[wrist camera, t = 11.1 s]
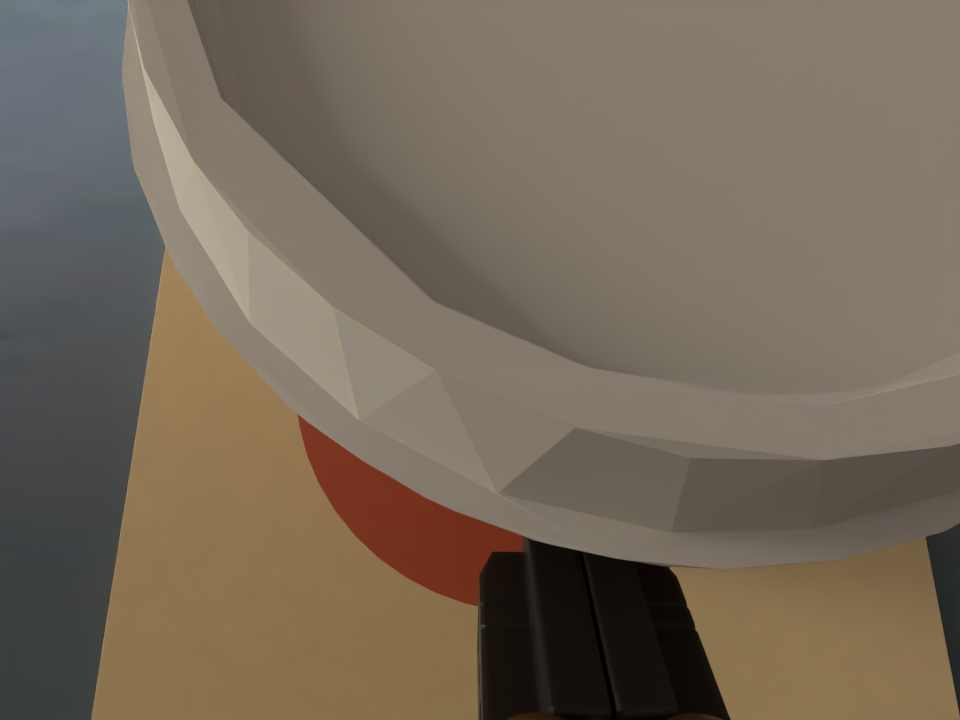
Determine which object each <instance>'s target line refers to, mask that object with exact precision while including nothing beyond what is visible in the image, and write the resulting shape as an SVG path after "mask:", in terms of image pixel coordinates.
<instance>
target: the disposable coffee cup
mask: <svg viewBox="0 0 960 720" xmlns="http://www.w3.org/2000/svg"><path fill="white" fill-rule="evenodd" d="M127 1H128V14H127V24H126V34H125V44H124V54H123V64H122V81H123V89H124V97H125V105H126V113H127V121H128V129H129V137H130V145H131V153H132V161H133V167H134V169H135V172H136V174H137V176H138V179H139V181H140V184H141V186H142V189H143V191H144V194H145V196H146V199H147V201H148V204H149V206H150V209H151V211H152V214H153V216H154V218H155V221H156V223H157V226H158V228H159V231H160V233H161V236H162V238H163V241H164V243H165V246H166V248H167V251H168V253H169V255H170V258H171V260H172V262H173V263H174V265H175V266H176V268H177V269H178V271H179V273H180V274H181V276H182V277H183V279H184V280H185V282H186V283H187V285H188V286H189V288H190V289H191V291H192V292H193V294H194V295H195V297H196V299H197V300H198V302H199V303H200V305H201V306H202V308H203V309H204V311H205V312H206V314H207V315H208V317H209V318H210V320H211V321H212V323H213V325H214V326H215V328H216V329H217V330H218V331H219V332H220V333H221V334H222V336H223V337H224V338H225V339H226V340H227V341H228V342H229V343H230V344H231V345H232V346H233V347H234V348H235V350H236V351H237V352H238V353H239V354H240V355H241V356H242V357H243V358H244V359H245V360H246V361H247V362H248V363H249V365H250V366H251V367H252V368H253V369H254V370H255V371H256V372H257V373H258V374H259V375H260V376H261V377H262V379H263V380H264V381H265V382H266V383H267V384H268V385H269V386H270V387H271V388H272V389H273V390H274V391H275V393H276V394H277V395H278V396H279V397H280V398H281V399H282V400H283V401H284V402H285V403H286V404H287V405H288V406H289V407H290V408H291V409H292V410H293V411H295V412H296V413H297V414H298V415H300V416H301V417H302V418H303V419H305V420H306V421H307V422H308V423H310V424H311V425H312V426H314V427H315V428H317V429H318V430H319V431H321V432H322V433H324V434H325V435H327V436H328V437H329V438H331V439H332V440H334V441H335V442H337V443H338V444H339V445H341V446H342V447H344V448H345V449H347V450H348V451H349V452H351V453H352V454H354V455H355V456H357V457H358V458H359V459H361V460H362V461H364V462H366V463H367V464H369V465H371V466H372V467H374V468H376V469H378V470H379V471H381V472H383V473H384V474H386V475H388V476H389V477H391V478H393V479H395V480H396V481H398V482H400V483H401V484H403V485H405V486H406V487H408V488H410V489H412V490H413V491H415V492H417V493H418V494H420V495H422V496H423V497H425V498H427V499H429V500H431V501H433V502H436V503H438V504H440V505H442V506H444V507H447V508H449V509H451V510H453V511H456V512H459V513H461V514H464V515H467V516H470V517H472V518H475V519H478V520H480V521H483V522H486V523H489V524H491V525H494V526H497V527H499V528H502V529H505V530H508V531H510V532H513V533H516V534H519V535H521V536H524V537H527V538H529V539H532V540H535V541H539V542H543V543H547V544H551V545H555V546H560V547H565V548H569V549H574V550H579V551H583V552H588V553H593V554H597V555H602V556H607V557H611V558H616V559H622V560H628V561H635V562H641V563H647V564H653V565H660V566H671V567H689V568H706V569H731V568H744V567H758V566H771V565H784V564H797V563H807V562H818V561H829V560H839V559H843V558H847V557H851V556H855V555H858V554H862V553H866V552H870V551H873V550H877V549H881V548H884V547H888V546H892V545H896V544H899V543H903V542H907V541H911V540H914V539H918V538H922V537H926V536H929V535H933V534H937V533H940V532H944V531H946V530H948V529H950V528H952V527H953V526H955V525H957V524H959V523H960V0H127Z"/></svg>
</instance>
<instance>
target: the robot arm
mask: <svg viewBox="0 0 960 720" xmlns="http://www.w3.org/2000/svg"><path fill="white" fill-rule="evenodd" d="M477 677H478V681H477V684H478V720H731V719H730V717H729V714H728V712H727V709H726V706H725V704H724V701H723V698H722V696H721V693H720V690H719V688H718V685H717V682H716V680H715V677H714V674H713V672H712V669H711V666H710V663H709V661H708V658H707V655H706V653H705V650H704V647H703V645H702V642H701V639H700V637H699V634H698V631H696V630H695V623H694V621H693V618H692V615H691V613H690V610H689V608H687V602H686V599H685V597H684V594H683V591H682V588H681V586H680V583H679V580H678V578H677V576H676V575H675V574H674V573H673V572H672V571H671V569H670V568H669V567H668V566H660V565H653V564H647V563H641V562H635V561H628V560H622V559H616V558H611V557H607V556H602V555H597V554H593V553H588V552H583V551H579V550H574V549H569V548H565V547H560V546H555V545H551V544H547V543H543V542H539V541H535V540H532V539H529V538H527V537H524V536H523V538H522V552H492V553H491V555H490V557H489V558H488V560H487V562H486V564H485V566H484V567H483V569H482V571H481V573H480V574H479V600H478V629H477Z"/></svg>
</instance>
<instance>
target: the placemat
mask: <svg viewBox="0 0 960 720" xmlns="http://www.w3.org/2000/svg"><path fill="white" fill-rule="evenodd" d="M522 538H523V536H521V535H519V534H516V533H513V532H510V531H508V530H505V529H502V528H499V527H497V526H494V525H491V524H489V523H486V522H483V521H480V520H478V519H475V518H472V517H470V516H467V515H464V514H461V513H459V512H456V511H453V510H451V509H449V508H447V507H444V506H442V505H440V504H438V503H436V502H433V501H431V500H429V499H427V498H425V497H423V496H422V495H420V494H418V493H417V492H415V491H413V490H412V489H410V488H408V487H406V486H405V485H403V484H401V483H400V482H398V481H396V480H395V479H393V478H391V477H389V476H388V475H386V474H384V473H383V472H381V471H379V470H378V469H376V468H374V467H372V466H371V465H369V464H367V463H366V462H364V461H362V460H361V459H359V458H358V457H357V456H355V455H354V454H352V453H351V452H349V451H348V450H347V449H345V448H344V447H342V446H341V445H339V444H338V443H337V442H335V441H334V440H332V439H331V438H329V437H328V436H327V435H325V434H324V433H322V432H321V431H319V430H318V429H317V428H315V427H314V426H312V425H311V424H310V423H308V422H307V421H306V420H305V419H303V418H302V417H301V416H300V415H298V414H297V413H296V412H295V411H293V410H292V409H291V408H290V407H289V406H288V405H287V404H286V403H285V402H284V401H283V400H282V399H281V398H280V397H279V396H278V395H277V394H276V393H275V391H274V390H273V389H272V388H271V387H270V386H269V385H268V384H267V383H266V382H265V381H264V380H263V379H262V377H261V376H260V375H259V374H258V373H257V372H256V371H255V370H254V369H253V368H252V367H251V366H250V365H249V363H248V362H247V361H246V360H245V359H244V358H243V357H242V356H241V355H240V354H239V353H238V352H237V351H236V350H235V348H234V347H233V346H232V345H231V344H230V343H229V342H228V341H227V340H226V339H225V338H224V337H223V336H222V334H221V333H220V332H219V331H218V330H217V329H216V328H215V326H214V325H213V323H212V321H211V320H210V318H209V317H208V315H207V314H206V312H205V311H204V309H203V308H202V306H201V305H200V303H199V302H198V300H197V299H196V297H195V295H194V294H193V292H192V291H191V289H190V288H189V286H188V285H187V283H186V282H185V280H184V279H183V277H182V276H181V274H180V273H179V271H178V269H177V268H176V266H175V265H174V263H173V262H172V260H171V258H170V255H169V253H168V251H167V248H166V247H165V254H164V260H163V267H162V273H161V279H160V286H159V292H158V298H157V305H156V311H155V317H154V324H153V330H152V336H151V343H150V349H149V356H148V362H147V368H146V375H145V381H144V387H143V394H142V400H141V406H140V413H139V419H138V425H137V432H136V438H135V444H134V451H133V457H132V464H131V470H130V476H129V483H128V489H127V495H126V502H125V508H124V514H123V521H122V527H121V533H120V540H119V546H118V552H117V559H116V565H115V572H114V578H113V584H112V591H111V597H110V603H109V610H108V616H107V622H106V629H105V635H104V641H103V648H102V654H101V661H100V667H99V673H98V680H97V686H96V692H95V699H94V705H93V711H92V718H91V720H478V684H477V681H478V677H477V629H478V600H479V574H480V573H481V571H482V569H483V567H484V566H485V564H486V562H487V560H488V558H489V557H490V555H491V553H492V552H522ZM668 567H669V568H670V569H671V571H672V572H673V573H674V574H675V575H676V576H677V578H678V580H679V583H680V586H681V588H682V591H683V594H684V597H685V599H686V602H687V608H689V610H690V613H691V615H692V618H693V621H694V623H695V630H696V631H698V634H699V637H700V639H701V642H702V645H703V647H704V650H705V653H706V655H707V658H708V661H709V663H710V666H711V669H712V672H713V674H714V677H715V680H716V682H717V685H718V688H719V690H720V693H721V696H722V698H723V701H724V704H725V706H726V709H727V712H728V714H729V717H730V719H731V720H960V715H959V709H958V704H957V699H956V694H955V688H954V683H953V678H952V673H951V668H950V662H949V657H948V652H947V647H946V641H945V636H944V631H943V626H942V620H941V615H940V610H939V605H938V600H937V594H936V589H935V584H934V579H933V573H932V568H931V563H930V558H929V553H928V547H927V542H926V537H922V538H918V539H914V540H911V541H907V542H903V543H899V544H896V545H892V546H888V547H884V548H881V549H877V550H873V551H870V552H866V553H862V554H858V555H855V556H851V557H847V558H843V559H839V560H829V561H818V562H807V563H797V564H784V565H771V566H758V567H744V568H731V569H706V568H689V567H671V566H668Z"/></svg>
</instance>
